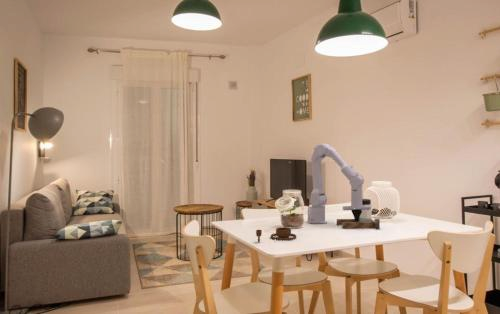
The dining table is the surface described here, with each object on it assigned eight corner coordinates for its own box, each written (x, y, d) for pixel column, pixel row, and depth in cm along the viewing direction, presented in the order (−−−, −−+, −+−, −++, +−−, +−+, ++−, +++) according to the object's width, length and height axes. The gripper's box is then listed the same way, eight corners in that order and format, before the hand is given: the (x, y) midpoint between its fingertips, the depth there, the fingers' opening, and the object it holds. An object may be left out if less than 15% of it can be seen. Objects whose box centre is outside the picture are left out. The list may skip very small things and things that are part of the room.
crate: (359, 227, 216) (359, 218, 216) (357, 225, 222) (358, 216, 222) (371, 227, 216) (371, 219, 216) (369, 225, 222) (369, 217, 222)
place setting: (301, 243, 183) (301, 229, 183) (256, 244, 181) (256, 231, 181) (291, 235, 201) (291, 222, 201) (250, 236, 198) (250, 224, 198)
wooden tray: (344, 229, 210) (344, 220, 210) (336, 224, 224) (336, 215, 224) (380, 229, 211) (380, 219, 211) (370, 224, 225) (370, 215, 225)
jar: (365, 222, 232) (365, 200, 231) (352, 220, 238) (352, 199, 237) (373, 220, 238) (373, 199, 238) (361, 218, 244) (361, 198, 244)
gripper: (345, 199, 214) (345, 225, 215) (372, 198, 215) (372, 224, 216) (341, 197, 221) (341, 222, 222) (368, 197, 222) (368, 222, 223)
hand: (356, 223), depth 219 cm, fingers closed
